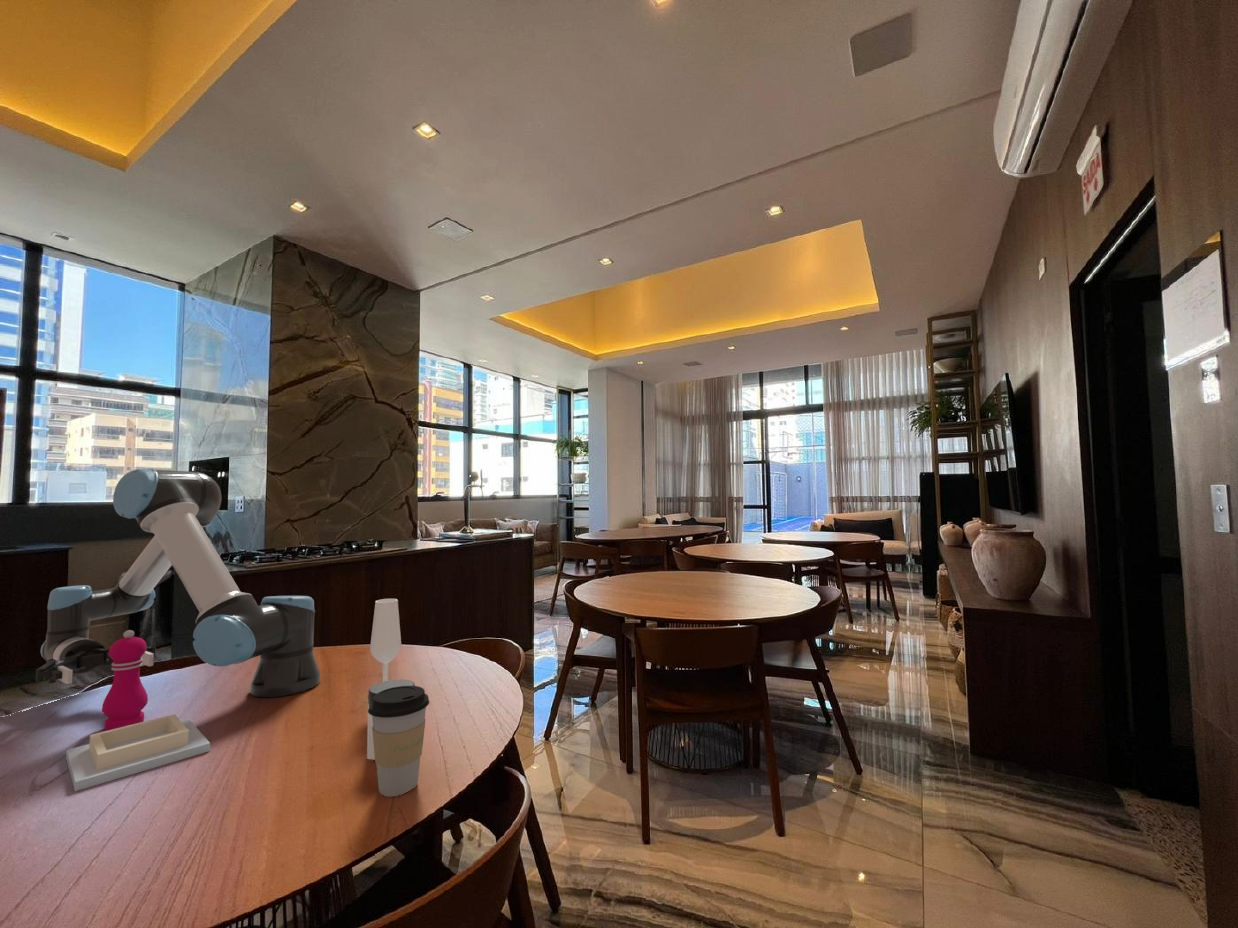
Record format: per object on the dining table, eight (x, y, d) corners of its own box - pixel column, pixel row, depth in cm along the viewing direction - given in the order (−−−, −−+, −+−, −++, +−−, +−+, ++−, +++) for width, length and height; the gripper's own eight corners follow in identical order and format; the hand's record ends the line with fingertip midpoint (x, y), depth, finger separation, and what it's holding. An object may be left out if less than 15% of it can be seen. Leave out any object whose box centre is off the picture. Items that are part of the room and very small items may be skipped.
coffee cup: (406, 805, 82) (408, 706, 83) (353, 799, 84) (355, 702, 85) (439, 774, 91) (440, 685, 92) (390, 769, 93) (391, 682, 94)
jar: (402, 736, 106) (403, 675, 107) (424, 748, 101) (424, 684, 101) (357, 753, 99) (358, 688, 100) (377, 767, 94) (378, 698, 95)
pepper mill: (154, 720, 116) (159, 627, 117) (114, 734, 109) (119, 635, 110) (133, 716, 118) (137, 625, 119) (92, 729, 111) (97, 632, 112)
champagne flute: (362, 708, 120) (364, 602, 122) (385, 698, 127) (386, 597, 128) (384, 713, 118) (386, 604, 119) (406, 702, 124) (408, 598, 126)
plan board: (188, 725, 112) (188, 706, 113) (209, 750, 101) (210, 729, 101) (65, 757, 99) (67, 735, 99) (74, 791, 87) (76, 766, 87)
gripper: (145, 657, 139) (180, 669, 128) (1, 686, 117) (29, 704, 107) (146, 628, 139) (181, 637, 129) (3, 652, 118) (31, 666, 107)
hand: (112, 668), depth 118 cm, fingers open, 13 cm apart
